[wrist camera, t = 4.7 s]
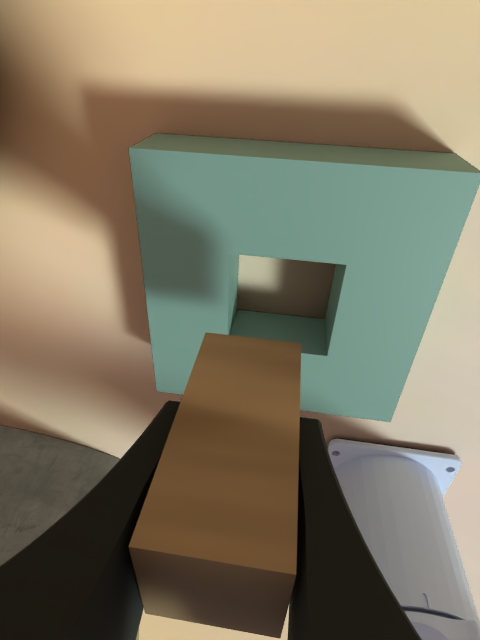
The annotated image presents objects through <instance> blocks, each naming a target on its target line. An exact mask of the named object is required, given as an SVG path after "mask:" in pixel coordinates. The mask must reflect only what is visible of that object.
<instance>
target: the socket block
mask: <svg viewBox="0 0 480 640" xmlns="http://www.w3.org/2000/svg"><path fill="white" fill-rule="evenodd" d="M129 155H130V164H131V173H132V181H133V190H134V199H135V207H136V216H137V225H138V233H139V242H140V251H141V259H142V268H143V277H144V285H145V294H146V303H147V312H148V320H149V329H150V338H151V346H152V355H153V364H154V372H155V381H156V390H157V391H158V392H166V393H173V394H181V395H183V394H184V391H185V388H186V385H187V383H188V380H189V377H190V374H191V371H192V369H193V366H194V363H195V360H196V358H197V355H198V352H199V349H200V346H201V344H202V341H203V338H204V335H205V333H206V332H207V333H216V334H225V335H234V336H242V337H251V338H260V339H269V340H278V341H287V342H295V343H301V382H300V410H302V411H309V412H317V413H324V414H332V415H339V416H347V417H355V418H362V419H370V420H377V421H385V422H391V419H392V416H393V414H394V411H395V408H396V406H397V403H398V400H399V398H400V395H401V392H402V390H403V387H404V384H405V382H406V379H407V376H408V374H409V371H410V368H411V366H412V363H413V360H414V358H415V355H416V352H417V350H418V347H419V344H420V342H421V339H422V336H423V334H424V331H425V328H426V326H427V323H428V320H429V318H430V315H431V312H432V310H433V307H434V304H435V302H436V299H437V296H438V294H439V291H440V288H441V286H442V283H443V280H444V278H445V275H446V272H447V270H448V267H449V264H450V262H451V259H452V256H453V254H454V251H455V248H456V246H457V243H458V240H459V238H460V235H461V232H462V230H463V227H464V224H465V222H466V219H467V216H468V214H469V211H470V209H471V206H472V203H473V201H474V198H475V195H476V193H477V190H478V187H479V185H480V171H479V170H478V169H477V168H475V167H474V166H472V165H471V164H470V163H468V162H467V161H465V160H464V159H463V158H461V157H460V156H459V155H457V154H456V153H441V152H426V151H411V150H397V149H382V148H367V147H352V146H338V145H323V144H308V143H293V142H279V141H264V140H249V139H234V138H220V137H205V136H190V135H175V134H161V133H155V134H153V135H151V136H149V137H148V138H146V139H144V140H142V141H140V142H138V143H137V144H135V145H133V146H131V147H129ZM239 255H250V256H260V257H270V258H281V259H291V260H302V261H312V262H322V263H333V264H336V265H335V271H334V276H333V281H332V286H331V291H330V296H329V302H328V307H327V312H326V317H325V319H318V318H309V317H300V316H291V315H282V314H273V313H264V312H255V311H245V310H237V293H238V267H239Z"/></svg>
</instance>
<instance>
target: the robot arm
mask: <svg viewBox="0 0 480 640" xmlns="http://www.w3.org/2000/svg"><path fill="white" fill-rule="evenodd" d="M179 405H180V402H176V401H168V402H166V403H165V405H164V406H163V407H162V409H161V410H160V411H159V413H158V414H157V415H156V417H155V418H154V419H153V421H152V422H151V423H150V425H149V426H148V427H147V428H146V430H145V431H144V432H143V433H142V435H141V436H140V437H139V438H138V439H137V441H136V442H135V443H134V444H133V445H132V446H131V448H130V449H129V450H128V451H127V452H126V453H125V455H124V456H123V457H122V458H121V459H120V460H119V461H118V462H117V464H116V465H115V466H114V467H113V468H112V469H111V470H110V471H109V472H108V473H107V474H106V475H105V476H104V477H103V478H102V479H101V480H100V481H99V483H98V484H97V485H96V486H95V487H94V488H92V489H91V490H90V491H89V492H88V493H87V494H86V495H85V496H84V497H83V498H82V499H81V500H80V501H79V502H78V503H77V504H76V505H75V506H74V507H72V508H71V509H70V510H69V511H68V512H67V513H66V514H65V515H64V516H62V517H61V518H60V519H59V520H58V521H57V522H55V523H54V524H53V525H52V526H51V527H50V528H48V529H47V530H46V531H45V532H44V533H42V534H41V535H40V536H39V537H38V538H36V539H35V540H34V541H33V542H31V543H30V544H29V545H28V546H26V547H25V548H24V549H22V550H21V551H20V552H18V553H17V554H16V555H14V556H13V557H12V558H10V559H9V560H8V561H6V562H5V563H4V564H2V565H1V566H0V640H136V637H137V632H138V628H139V624H140V620H141V616H142V612H143V608H144V606H143V602H142V598H141V594H140V590H139V586H138V582H137V578H136V574H135V570H134V566H133V562H132V559H131V555H130V551H129V547H128V546H129V544H130V541H131V538H132V535H133V533H134V530H135V527H136V524H137V521H138V519H139V516H140V513H141V510H142V508H143V505H144V502H145V499H146V496H147V494H148V491H149V488H150V485H151V483H152V480H153V477H154V474H155V471H156V469H157V466H158V463H159V460H160V458H161V455H162V452H163V449H164V446H165V444H166V441H167V438H168V435H169V433H170V430H171V427H172V424H173V421H174V419H175V416H176V413H177V410H178V408H179ZM461 464H462V462H461V460H460V457H458V456H457V455H452V454H445V453H438V452H431V451H423V450H416V449H409V448H402V447H394V446H387V445H380V444H373V443H365V442H358V441H351V440H344V439H333V440H331V441H330V442H329V445H328V449H327V446H326V443H325V439H324V435H323V431H322V426H321V422H320V421H319V420H317V419H310V418H302V417H300V428H299V474H298V521H297V567H296V578H295V582H294V586H293V590H292V594H291V598H290V604H289V624H288V640H480V620H479V617H478V614H477V610H476V607H475V603H474V600H473V597H472V593H471V590H470V587H469V583H468V580H467V577H466V573H465V570H464V567H463V563H462V560H461V557H460V553H459V550H458V546H457V543H456V540H455V536H454V533H453V530H452V526H451V523H450V520H449V516H448V513H447V510H446V506H445V503H444V500H443V496H444V494H445V493H446V491H447V489H448V487H449V486H450V484H451V482H452V480H453V479H454V477H455V475H456V474H457V472H458V470H459V468H460V467H461Z"/></svg>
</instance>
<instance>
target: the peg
mask: <svg viewBox="0 0 480 640" xmlns="http://www.w3.org/2000/svg"><path fill="white" fill-rule="evenodd" d="M300 382H301V343H295V342H287V341H278V340H269V339H260V338H251V337H242V336H234V335H225V334H216V333H207V332H206V333H205V335H204V338H203V341H202V344H201V346H200V349H199V352H198V355H197V358H196V360H195V363H194V366H193V369H192V371H191V374H190V377H189V380H188V383H187V385H186V388H185V391H184V394H183V396H182V399H181V402H180V405H179V408H178V410H177V413H176V416H175V419H174V421H173V424H172V427H171V430H170V433H169V435H168V438H167V441H166V444H165V446H164V449H163V452H162V455H161V458H160V460H159V463H158V466H157V469H156V471H155V474H154V477H153V480H152V483H151V485H150V488H149V491H148V494H147V496H146V499H145V502H144V505H143V508H142V510H141V513H140V516H139V519H138V521H137V524H136V527H135V530H134V533H133V535H132V538H131V541H130V544H129V546H128V547H129V551H130V555H131V559H132V562H133V566H134V570H135V574H136V578H137V582H138V586H139V590H140V594H141V598H142V602H143V606H144V610H145V613H146V614H151V615H156V616H162V617H167V618H173V619H178V620H183V621H189V622H194V623H200V624H205V625H211V626H216V627H221V628H227V629H232V630H238V631H243V632H248V633H254V634H259V635H265V636H270V637H276V638H280V637H281V633H282V629H283V625H284V621H285V617H286V613H287V609H288V606H289V602H290V598H291V594H292V590H293V586H294V582H295V578H296V567H297V521H298V474H299V428H300Z"/></svg>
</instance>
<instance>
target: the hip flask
mask: <svg viewBox="0 0 480 640" xmlns="http://www.w3.org/2000/svg"><path fill="white" fill-rule="evenodd" d="M119 460H120V459H119V458H117V457H114V456H111V455H109V454H106V453H103V452H100V451H97V450H94V449H91V448H88V447H85V446H82V445H79V444H75V443H72V442H69V441H65V440H62V439H58V438H54V437H50V436H47V435H43V434H38V433H34V432H30V431H26V430H21V429H17V428H12V427H7V426H2V425H0V566H1V565H2V564H4V563H5V562H6V561H8V560H9V559H10V558H12V557H13V556H14V555H16V554H17V553H18V552H20V551H21V550H22V549H24V548H25V547H26V546H28V545H29V544H30V543H31V542H33V541H34V540H35V539H36V538H38V537H39V536H40V535H41V534H42V533H44V532H45V531H46V530H47V529H48V528H50V527H51V526H52V525H53V524H54V523H55V522H57V521H58V520H59V519H60V518H61V517H62V516H64V515H65V514H66V513H67V512H68V511H69V510H70V509H71V508H72V507H74V506H75V505H76V504H77V503H78V502H79V501H80V500H81V499H82V498H83V497H84V496H85V495H86V494H87V493H88V492H89V491H90V490H91V489H92V488H94V487H95V486H96V485H97V484H98V483H99V481H100V480H101V479H102V478H103V477H104V476H105V475H106V474H107V473H108V472H109V471H110V470H111V469H112V468H113V467H114V466H115V465H116V464H117V462H118V461H119Z"/></svg>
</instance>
